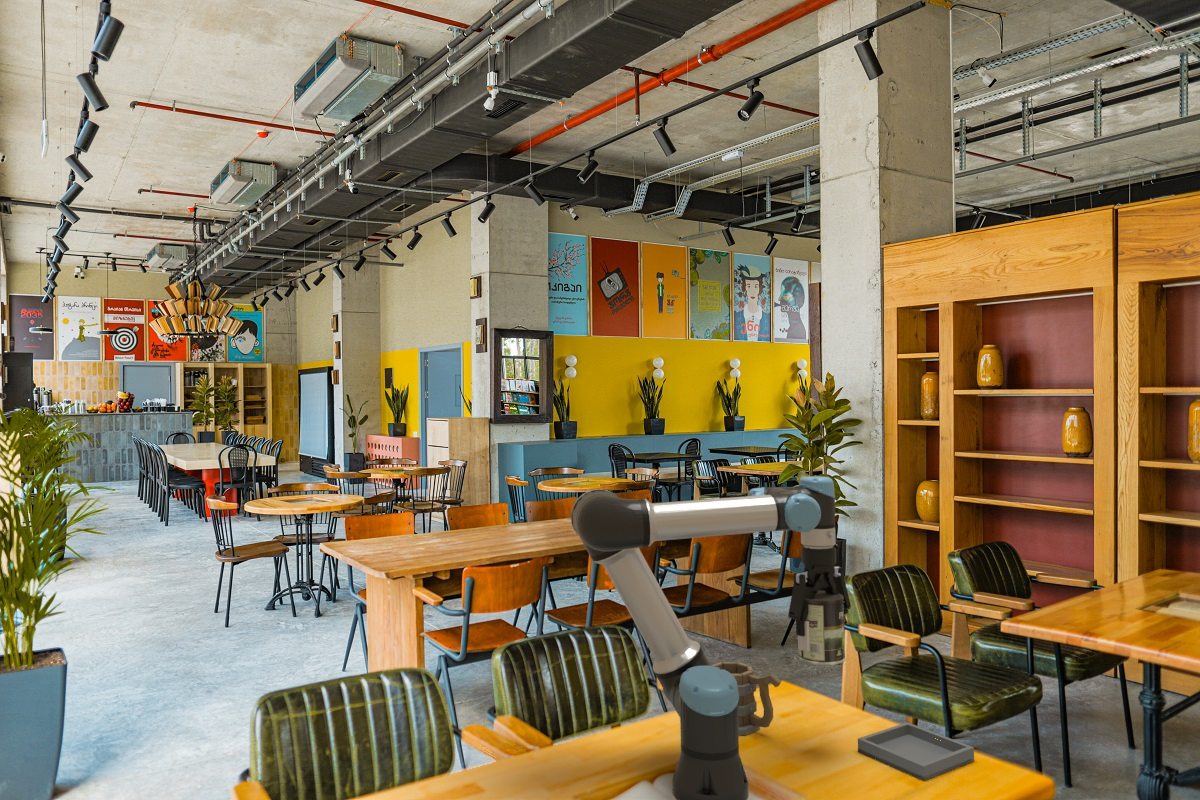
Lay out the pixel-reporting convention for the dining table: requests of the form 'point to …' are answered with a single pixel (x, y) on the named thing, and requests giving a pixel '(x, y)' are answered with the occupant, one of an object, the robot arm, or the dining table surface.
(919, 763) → the tray
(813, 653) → the coffee can
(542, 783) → the dining table surface
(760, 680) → the tankard
